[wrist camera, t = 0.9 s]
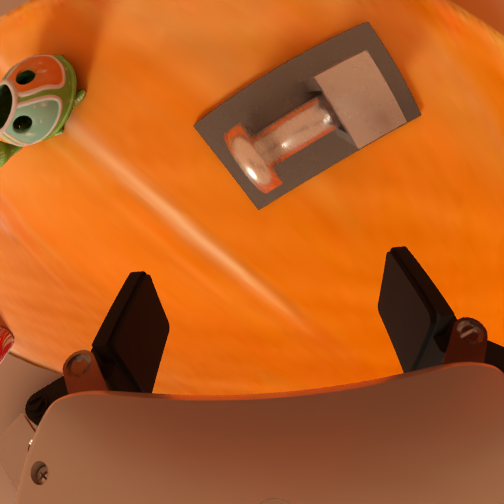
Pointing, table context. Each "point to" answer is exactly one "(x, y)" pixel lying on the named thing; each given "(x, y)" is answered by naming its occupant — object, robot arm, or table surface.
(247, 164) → the door knob
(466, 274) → the table surface
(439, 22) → the table surface
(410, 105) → the bearing housing
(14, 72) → the turtle holder
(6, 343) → the soda can
